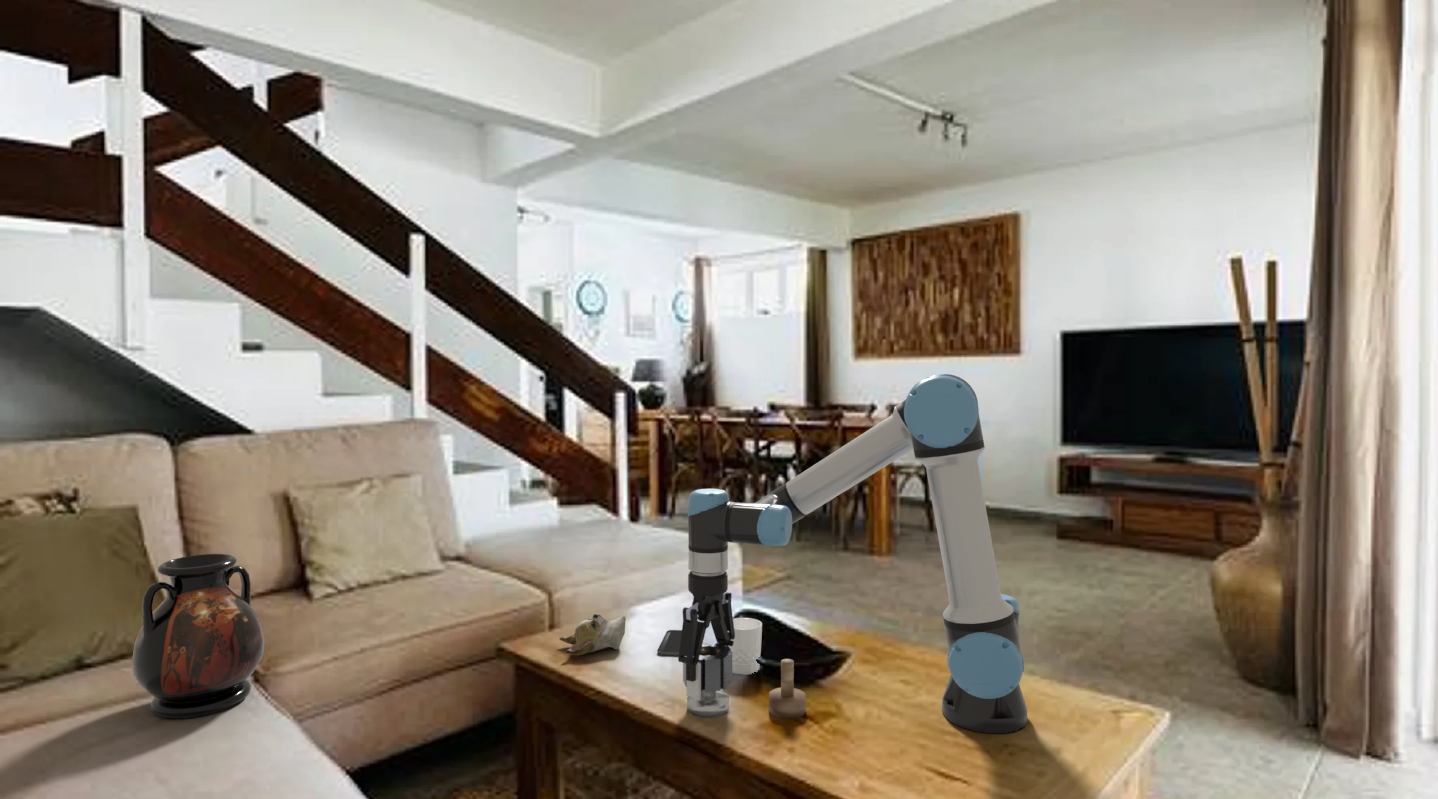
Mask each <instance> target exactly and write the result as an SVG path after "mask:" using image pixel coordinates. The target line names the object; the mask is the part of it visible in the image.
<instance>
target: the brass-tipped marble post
mask: <svg viewBox="0 0 1438 799" xmlns="http://www.w3.org/2000/svg"><path fill="white" fill-rule="evenodd" d="M706 656H710V655H706ZM686 705H687V706H686V709H687V712H688V713H689V714H691V715H693V716H695V717H698V718H704V719H705V718H707V719H709V718H710V719H711V718H718V717H720V716H721V717H722V716H724V715H726V714H727V713H728V712H729V710H730V697H729V695H728V694H727V693H726V692H724V691H721V690H720V691H712V692H705V691H704V690H703V691H702V692H701V698H699V699H698V698H694V697H690V696H687V697H686Z"/></svg>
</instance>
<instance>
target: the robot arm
mask: <svg viewBox="0 0 1438 799" xmlns="http://www.w3.org/2000/svg"><path fill="white" fill-rule="evenodd" d="M893 407H894V409H893V412H892V414H891V415H890V416H888V417H887V418H885V419H883V420H882V421H880V422H879V423H877V424H875V425H874V426H872V427H870V428H869V429H868V430H866V431H865V432H863V433H862V434H860V435H858V436H857V437H855V438H853V439H852V440H851V441H849V442H847V443H846V444H845V445H843V446H841V447H840V448H839V449H837V450H835V451H834V452H832V453H831V454H829V455H827V456H825V457H824V458H823V459H821V460H819V461H818V462H816V463H815V464H813V465H812V466H810V467H809V468H807V469H806V470H804V471H803V472H801V473H799V474H797V475H796V476H795V477H793V478H792V479H790V480H788V481H787V482H785V483H784V484H782V485H781V486H779V487H777V488H776V489H774V490H772V491H770V492H769V493H768V494H766V495H765V496H763V497H762V498H761V499H759V500H758V501H756V502H752V503H751V502H735V501H730V498H729V494H728V492H727V491H726V490H724V489H719V488H700V489H695V490H693V491H691V493H690V494H689V495H688V496H689V497H688V511H687V512H688V513H687V524H688V526H687V529H688V531H687V532H688V533H687V534H688V535H687V536H688V553H687V554H688V566H687V567H688V570H689V572H688V573H687V574H688V576H687V584H688V585H687V588H688V592H689V593H690V594H692V596H693V598H692V603H691V606H690V607H684V606H683V609H682V627H681V630H682V634H681V642H680V650H679V656H678V659H677V660H678V662H679V663H682V664H683V663H686V680H687V687H686V696H687V697H688V696H690V697H694V698H698V699H699V698H701V663H699V662H698V660H699V656H700V652H701V648H702V644H703V643H704V639H705V636H706V631H707V629H708V628H709V627H710V625H711V628H712V631H713V633H714V637H715V640H716V643H718V644H723V645H726V647H728V646H733V644H734V641H731V639H732V640H733V639H734V638H735V631H734V623H733V619H734V618H733V617H734V615H733V610H732V598H733V597H732V592H729V591H728V583H729V582H728V580H729V579H728V578H729V574H728V572H727V570H728V569H729V559H728V558H729V556H728V555H729V552H728V551H729V550H728V549H729V545H728V543H734V544H735V543H736V544H745V545H747V544H748V545H758V546H764V547H765V546H766V547H774V546H775V547H783V546H786V545H788V543H789V541H790V540H791V537H792V531H793V524H795V523H797V522H798V521H799V520H801V519H803V518H804V517H806V516H808V515H809V514H811V513H812V512H814V511H816V510H817V509H819V508H820V507H822V506H824V505H825V504H827V503H828V502H830V501H832V500H833V499H834V498H836V497H837V496H839V495H841V494H843V493H845V492H846V491H848V490H850V489H851V488H853V487H854V486H856V485H858V484H859V483H861V482H863V481H864V480H866V479H868V478H870V476H872V475H874V474H875V473H877V472H878V471H880V470H882V469H884V468H885V467H887V466H888V465H890V464H892V463H893V462H895V461H896V460H898V459H899V458H902V457H904V455H906V454H908V453H909V452H911V451H913V454H914V455H913V456H914V459H915V460H916V461H918V462H919V463H920V464H922V465H923V466H924V468H925V469H926V470H925V471H926V475H927V481H928V486H929V493H930V497H931V499H930V500H931V505H932V511H933V515H934V521H935V527H936V531H937V538H938V539H937V540H938V544H939V549H940V554H941V555H940V556H941V560H942V567H943V573H944V576H945V577H944V578H945V583H946V589H947V596H948V602H949V604H948V605H947V607H946V608H945V610H944V611H943V612H942V619H943V623H944V624H943V625H944V630H945V636H946V642H947V649H948V653H947V654H948V655H947V667H948V670H949V672H950V677H949V679H948V681H947V685H946V687H945V690H944V693H943V695H942V699H941V700H942V701H941V711H942V715H943V716H944V717H945V718H946V719H947V720H948V721H949V722H951V723H952V724H955V725H957V726H959V727H961V728H963V729H967V730H970V731H973V732H980V733H987V734H1009V733H1008V732H1010V733H1013V732H1012V731H1015V732H1017V730H1018V731H1020V730H1021V729H1020V728H1022V727H1023V728H1025V727H1026V725H1027V724H1028V707H1027V705H1026V701H1025V698H1024V694H1023V691H1022V689H1021V685H1020V682H1021V679H1022V676H1023V673H1024V669H1025V663H1024V662H1025V661H1024V657H1023V655H1022V648H1021V640H1020V635H1019V633H1020V631H1019V629H1020V628H1019V627H1020V626H1019V625H1020V624H1019V618H1020V615H1021V612H1020V606H1019V605H1020V604H1019V602H1018V600H1017V599H1016V598H1015V597H1013V596H1011V595H1007V594H1004V593H1002V592H1001V586H1000V580H999V574H998V569H997V564H996V558H995V557H996V556H995V552H994V546H993V541H992V540H993V539H992V535H991V531H990V530H991V529H990V522H989V518H988V513H987V507H986V502H985V495H984V490H983V484H982V479H981V472H980V467H979V461H978V459H979V457H980V456H981V454H982V453H983V451H984V450H985V448H986V446H985V443H984V437H983V436H984V435H983V431H982V425H981V418H980V413H979V411H980V410H979V401H978V397H977V395H976V392H975V390H974V389H973V387H972V386H971V385H970V384H969V383H968V382H967V381H966V380H965V379H963V378H961V377H960V376H956V375H954V374H953V375H952V374H947V373H944V374H943V373H942V374H934V375H930V376H927V377H924V378H923V379H921V380H919V381H918V382H917V383H915V384H914V386H913V387H912V388H911V389H910V391H909V392H908V394H907V396H906V399H904V400H903V401H901V402H900V403H898V404H896V406H893ZM728 631H729V632H728ZM693 656H694V657H693ZM1026 723H1027V724H1026ZM1025 724H1026V725H1025ZM1024 726H1025V727H1024ZM1023 728H1022V729H1023ZM1019 729H1020V730H1019Z"/></svg>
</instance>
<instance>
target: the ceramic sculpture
mask: <svg viewBox="0 0 1438 799" xmlns="http://www.w3.org/2000/svg"><path fill="white" fill-rule="evenodd" d="M626 622H627V621H626V616H625V615H623V616H621V617H617V618H614V619H613V620H607V619H606V618H605V617H604V616H603V615H601V614H593V616H592V618H590V619H589V618H588V619H584V620H581V621H580V623H579V624H578V625H577V626H576V627H575V632H574V634H573V635H569V636H567V637H563V636H562V637H559V640H560V641H561V642H564V643H566V644H570V645H571V646H570V647H569V648H568V649H567V650H565V651H564V653H565V654H567V655H572V656H573V655H574V656H582V655H583V656H584V655H585V654H588V653H595V652H598V651H600V650H603V649H606V648H613V650H619V648H620V647H621V644H622V640H623V638H624V636H625V632H626Z"/></svg>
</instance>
